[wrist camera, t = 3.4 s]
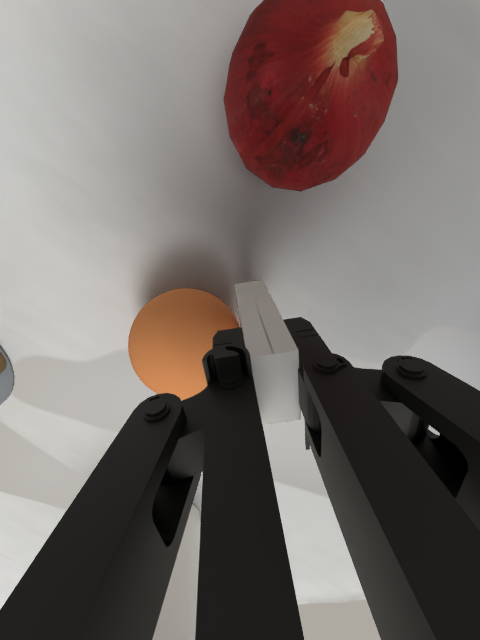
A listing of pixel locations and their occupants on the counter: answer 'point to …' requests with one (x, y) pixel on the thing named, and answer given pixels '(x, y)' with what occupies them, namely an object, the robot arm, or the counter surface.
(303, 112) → the onion
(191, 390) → the ball
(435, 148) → the counter surface
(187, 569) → the foam cup
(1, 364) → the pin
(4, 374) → the pin spot
